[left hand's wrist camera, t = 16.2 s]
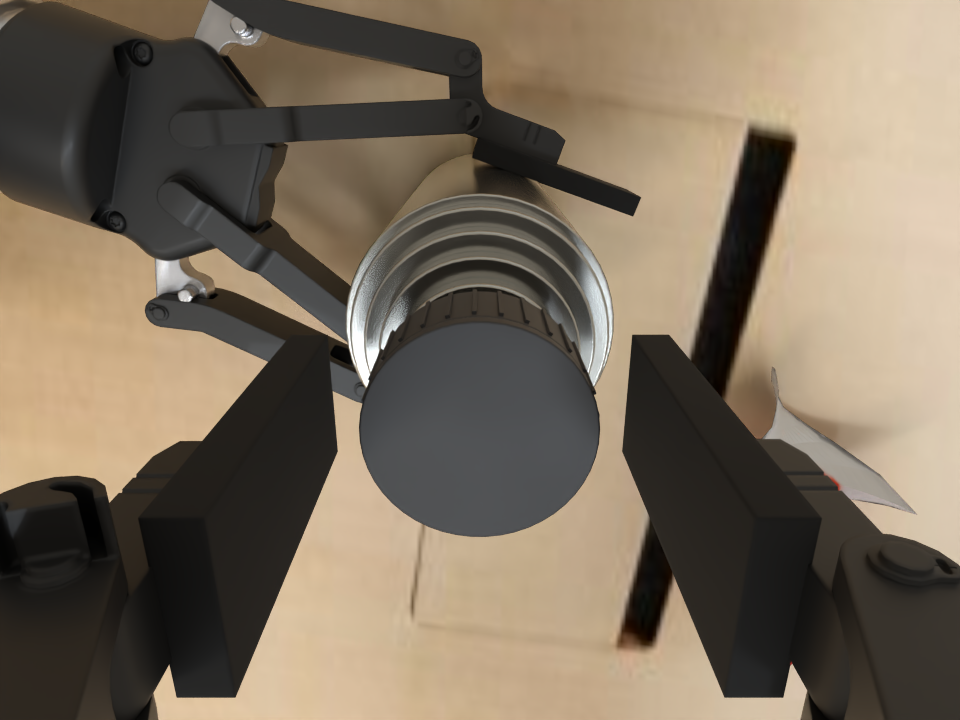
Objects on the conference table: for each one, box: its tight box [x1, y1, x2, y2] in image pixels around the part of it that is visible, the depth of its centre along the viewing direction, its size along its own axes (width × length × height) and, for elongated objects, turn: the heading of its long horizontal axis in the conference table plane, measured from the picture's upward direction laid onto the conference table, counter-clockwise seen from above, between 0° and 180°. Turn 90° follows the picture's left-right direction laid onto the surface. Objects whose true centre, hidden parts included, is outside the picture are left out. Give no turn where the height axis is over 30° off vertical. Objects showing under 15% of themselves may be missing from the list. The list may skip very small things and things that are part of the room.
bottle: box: [346, 154, 614, 388], centre depth 23 cm, size 7×7×22 cm
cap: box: [359, 289, 600, 537], centre depth 13 cm, size 5×5×2 cm
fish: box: [762, 367, 917, 666], centre depth 35 cm, size 11×16×10 cm
